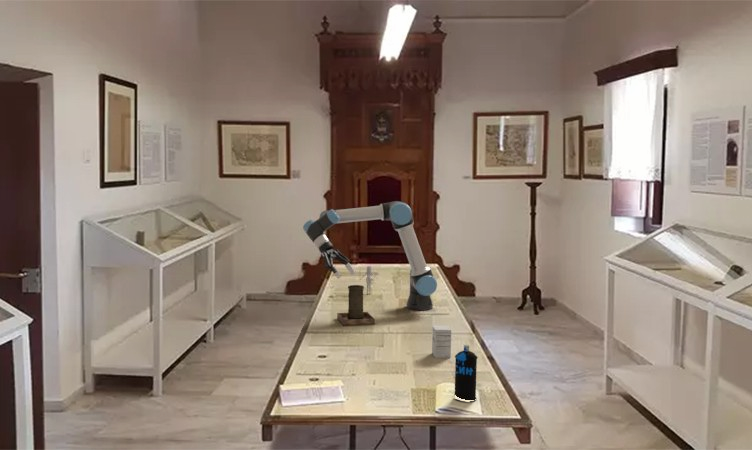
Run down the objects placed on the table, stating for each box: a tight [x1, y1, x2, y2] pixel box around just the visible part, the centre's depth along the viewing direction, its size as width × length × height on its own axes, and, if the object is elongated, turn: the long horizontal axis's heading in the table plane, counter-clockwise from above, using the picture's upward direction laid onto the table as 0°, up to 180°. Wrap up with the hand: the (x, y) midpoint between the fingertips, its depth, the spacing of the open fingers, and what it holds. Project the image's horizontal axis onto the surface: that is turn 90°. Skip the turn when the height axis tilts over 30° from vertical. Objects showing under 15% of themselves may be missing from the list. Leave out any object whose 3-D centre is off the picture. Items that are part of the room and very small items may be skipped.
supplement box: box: [431, 325, 452, 359], centre depth 320 cm, size 7×7×13 cm
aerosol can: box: [454, 344, 479, 401], centre depth 265 cm, size 8×8×20 cm
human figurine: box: [359, 265, 379, 295], centre depth 452 cm, size 12×4×18 cm, turn 97°
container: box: [347, 284, 365, 320], centre depth 381 cm, size 9×9×18 cm
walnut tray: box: [336, 311, 376, 327], centre depth 382 cm, size 17×17×3 cm
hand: (347, 275), depth 382 cm, fingers open, 13 cm apart
